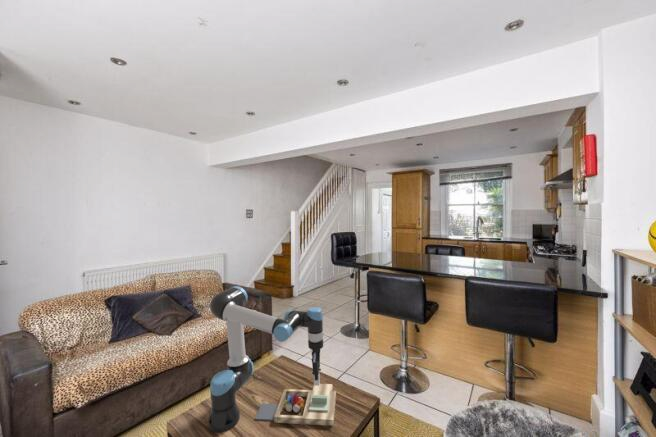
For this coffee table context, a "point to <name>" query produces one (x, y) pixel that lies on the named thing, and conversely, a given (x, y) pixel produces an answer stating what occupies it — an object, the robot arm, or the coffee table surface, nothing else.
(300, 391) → the board
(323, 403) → the lid
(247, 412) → the coffee table surface
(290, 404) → the rainbow toy vehicle
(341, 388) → the coffee table surface
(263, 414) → the mat
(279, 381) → the coffee table surface
